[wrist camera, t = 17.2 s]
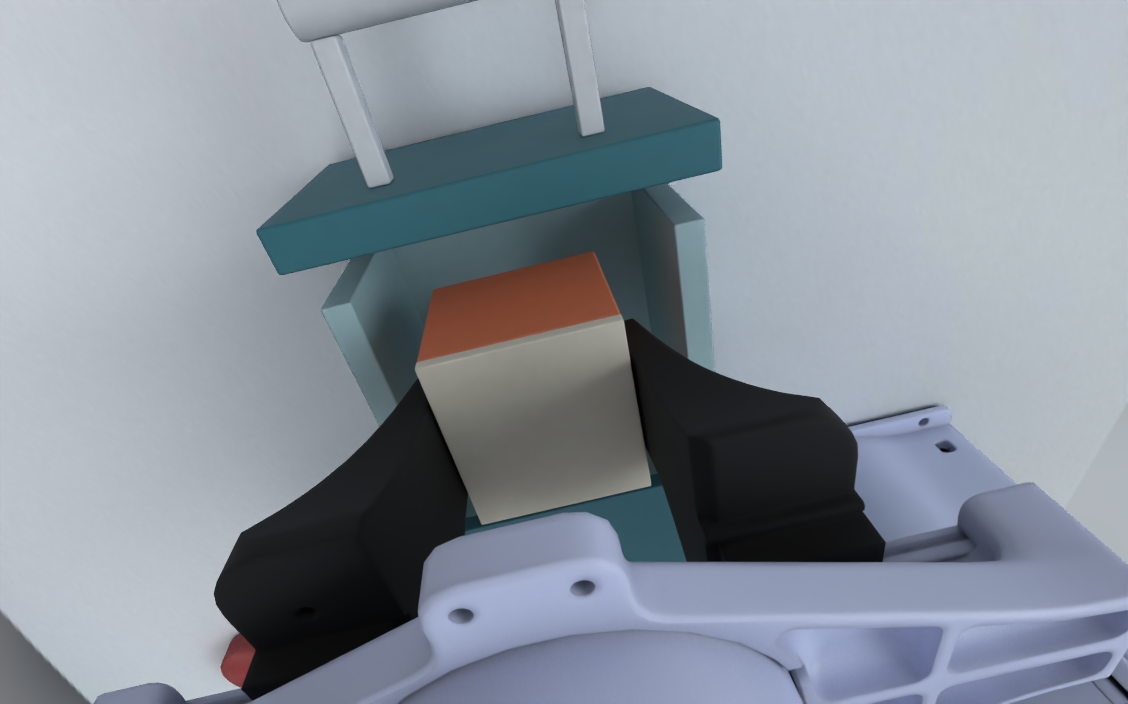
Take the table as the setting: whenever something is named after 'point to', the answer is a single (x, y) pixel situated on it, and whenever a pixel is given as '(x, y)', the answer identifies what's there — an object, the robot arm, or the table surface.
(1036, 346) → the table surface
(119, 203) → the table surface
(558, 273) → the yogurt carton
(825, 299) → the table surface
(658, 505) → the teal drawer cabinet
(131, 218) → the table surface
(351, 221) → the drawer
